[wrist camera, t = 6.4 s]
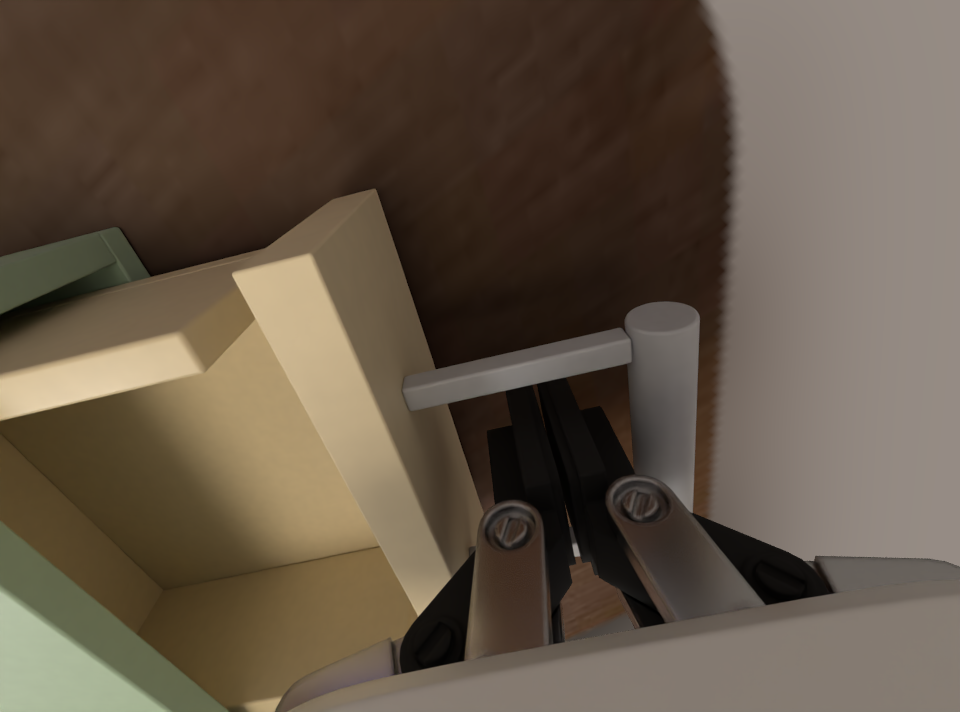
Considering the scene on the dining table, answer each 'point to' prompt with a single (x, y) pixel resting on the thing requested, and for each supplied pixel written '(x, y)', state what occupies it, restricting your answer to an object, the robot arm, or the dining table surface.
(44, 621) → the drawer cabinet
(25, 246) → the dining table surface
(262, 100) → the dining table surface
